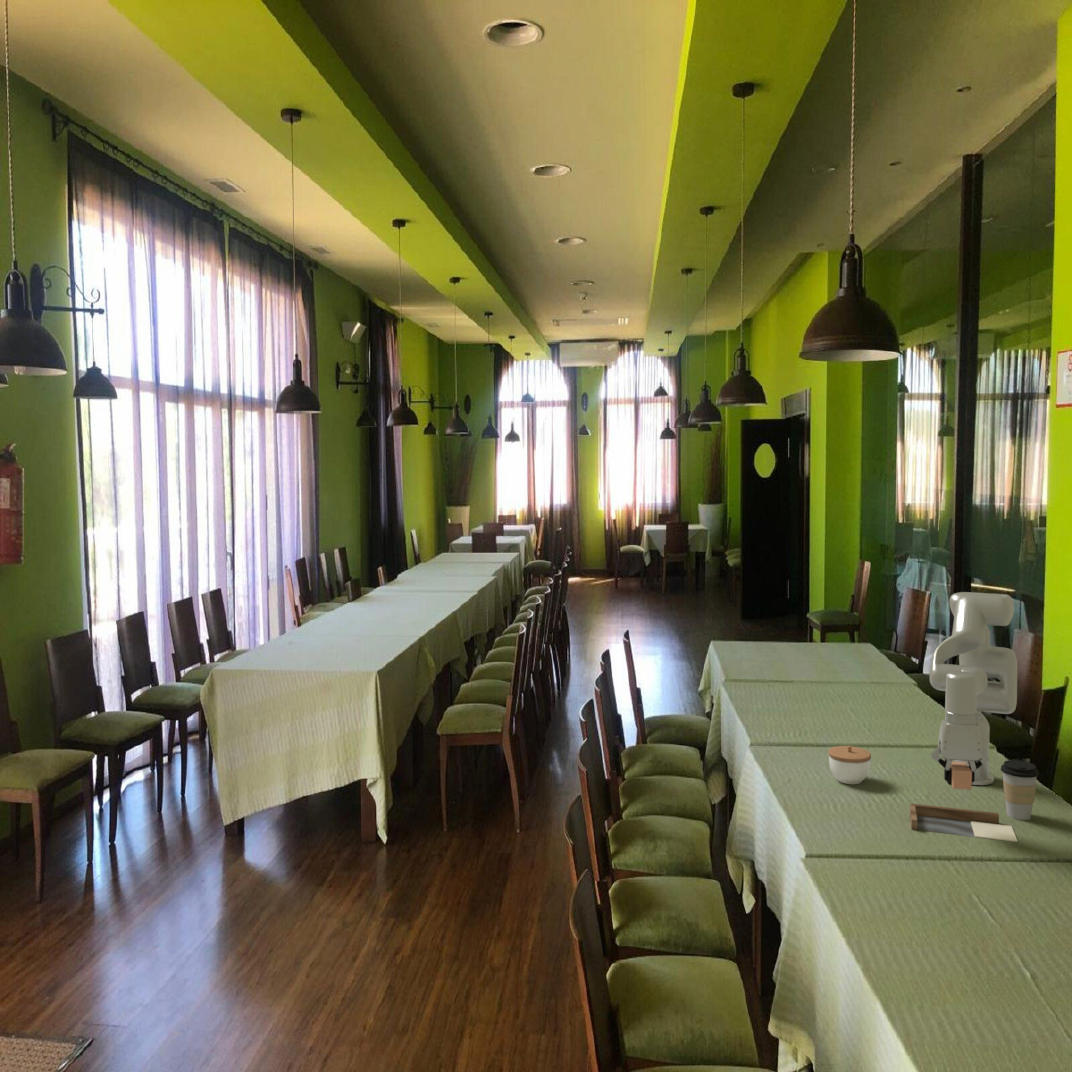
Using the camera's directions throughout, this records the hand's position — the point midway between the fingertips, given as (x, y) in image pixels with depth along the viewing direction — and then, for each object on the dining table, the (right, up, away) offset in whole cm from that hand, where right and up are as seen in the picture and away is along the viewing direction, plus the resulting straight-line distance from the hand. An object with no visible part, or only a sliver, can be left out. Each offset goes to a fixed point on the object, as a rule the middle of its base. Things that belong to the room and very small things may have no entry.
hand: (959, 782), depth 234 cm
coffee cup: (+21, -12, +9) cm, 26 cm away
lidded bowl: (-16, -11, +39) cm, 43 cm away
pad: (+9, -13, -1) cm, 15 cm away
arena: (+2, -13, +2) cm, 13 cm away
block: (0, 0, 0) cm, 0 cm away
